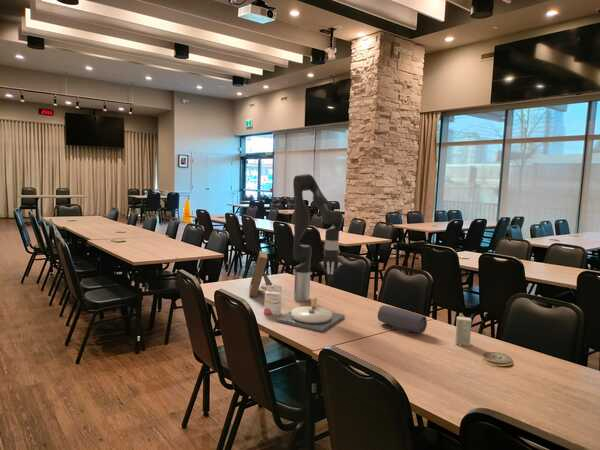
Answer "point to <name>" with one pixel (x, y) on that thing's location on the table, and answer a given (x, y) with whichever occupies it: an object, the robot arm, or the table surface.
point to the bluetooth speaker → (402, 319)
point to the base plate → (312, 326)
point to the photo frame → (259, 274)
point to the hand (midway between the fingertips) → (329, 280)
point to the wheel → (311, 313)
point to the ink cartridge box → (272, 300)
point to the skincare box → (463, 331)
